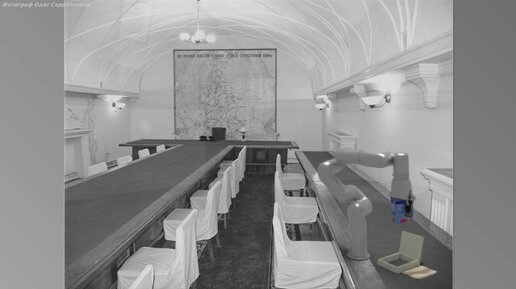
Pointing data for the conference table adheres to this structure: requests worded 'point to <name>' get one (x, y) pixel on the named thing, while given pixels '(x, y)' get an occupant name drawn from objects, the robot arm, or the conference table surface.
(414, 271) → the board
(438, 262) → the conference table surface
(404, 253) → the case
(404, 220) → the ink cartridge box
